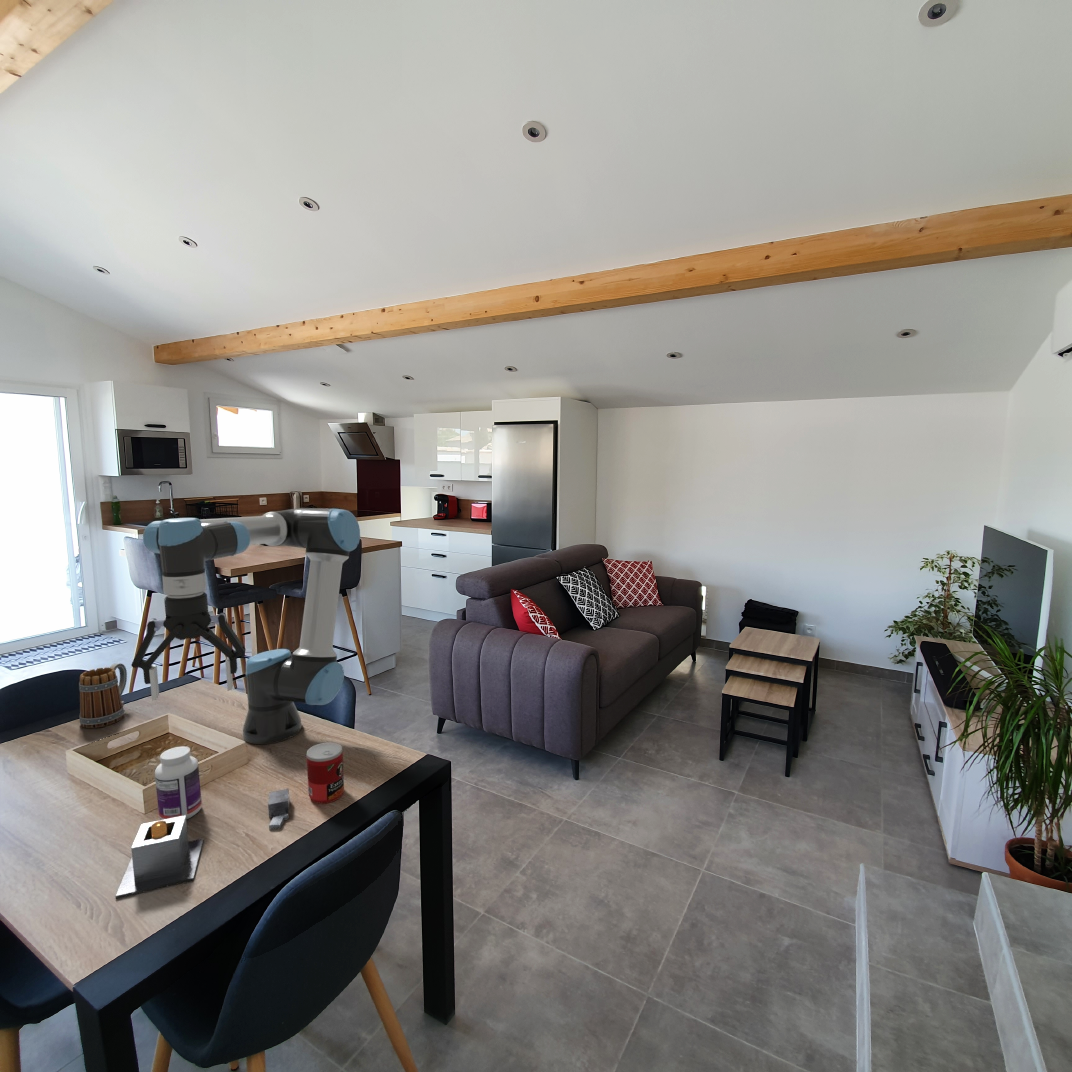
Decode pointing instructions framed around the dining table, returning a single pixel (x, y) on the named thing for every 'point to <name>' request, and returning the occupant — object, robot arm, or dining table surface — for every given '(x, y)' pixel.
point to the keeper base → (187, 875)
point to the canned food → (325, 772)
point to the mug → (102, 696)
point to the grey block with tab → (278, 807)
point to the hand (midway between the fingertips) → (193, 693)
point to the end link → (160, 850)
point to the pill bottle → (178, 784)
